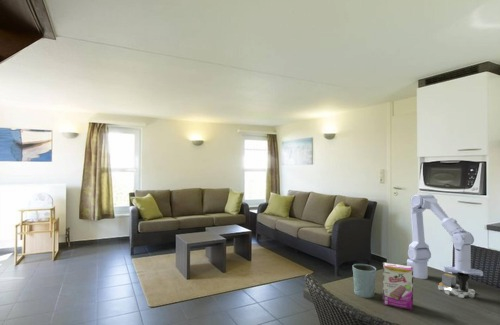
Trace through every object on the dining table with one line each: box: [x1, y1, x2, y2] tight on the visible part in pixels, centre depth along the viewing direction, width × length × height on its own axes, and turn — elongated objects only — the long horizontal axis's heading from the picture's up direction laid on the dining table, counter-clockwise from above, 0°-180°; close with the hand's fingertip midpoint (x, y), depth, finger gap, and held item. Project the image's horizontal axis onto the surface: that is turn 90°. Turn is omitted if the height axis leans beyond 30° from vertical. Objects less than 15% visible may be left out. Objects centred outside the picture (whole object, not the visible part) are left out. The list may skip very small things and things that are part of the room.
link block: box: [441, 272, 457, 287], centre depth 133 cm, size 4×4×5 cm
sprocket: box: [437, 281, 476, 299], centre depth 130 cm, size 14×14×6 cm
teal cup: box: [352, 263, 377, 299], centre depth 130 cm, size 10×10×12 cm
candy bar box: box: [382, 262, 414, 311], centre depth 119 cm, size 11×5×16 cm, turn 65°
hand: (462, 289), depth 126 cm, fingers closed, pressing on sprocket
